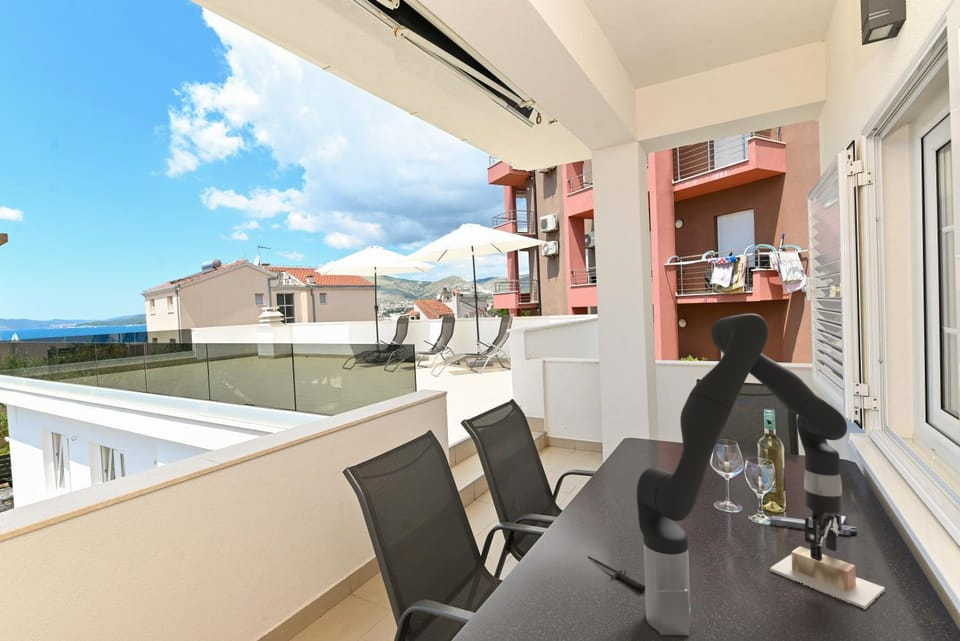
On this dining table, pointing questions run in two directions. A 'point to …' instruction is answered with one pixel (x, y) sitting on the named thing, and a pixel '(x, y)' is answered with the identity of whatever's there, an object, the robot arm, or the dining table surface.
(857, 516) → the dining table surface
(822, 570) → the maple block
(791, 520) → the handgun
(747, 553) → the dining table surface
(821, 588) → the mat
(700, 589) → the dining table surface
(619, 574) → the knife
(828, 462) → the robot arm
